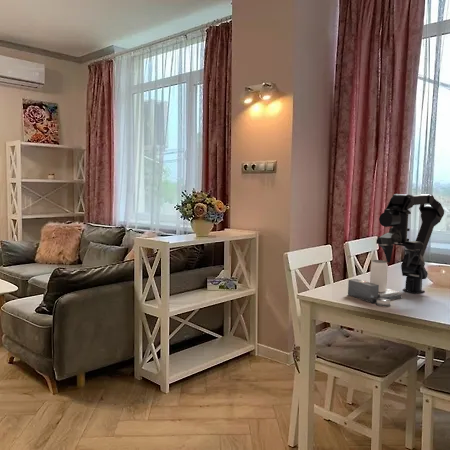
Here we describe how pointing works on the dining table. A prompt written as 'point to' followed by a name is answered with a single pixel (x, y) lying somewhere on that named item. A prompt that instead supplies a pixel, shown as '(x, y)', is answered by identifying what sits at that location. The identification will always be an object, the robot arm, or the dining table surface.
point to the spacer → (383, 302)
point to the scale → (366, 291)
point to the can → (379, 274)
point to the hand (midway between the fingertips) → (397, 264)
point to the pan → (387, 293)
